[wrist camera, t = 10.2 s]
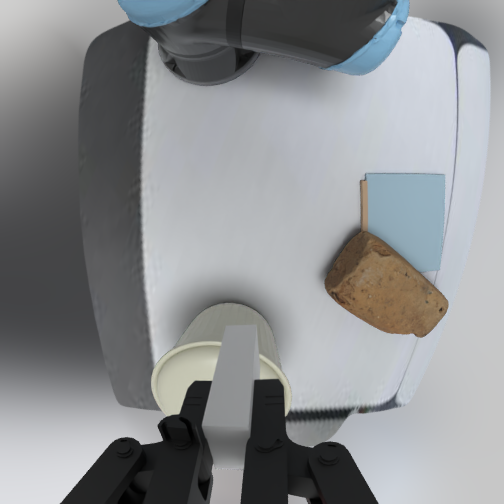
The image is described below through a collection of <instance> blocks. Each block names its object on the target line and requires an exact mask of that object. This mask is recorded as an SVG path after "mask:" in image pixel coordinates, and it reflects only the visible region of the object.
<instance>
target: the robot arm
mask: <svg viewBox="0 0 504 504" xmlns="http://www.w3.org/2000/svg"><path fill="white" fill-rule="evenodd" d="M118 3H119V5H120V6H121V8H122V9H123V10H124V11H125V12H126V14H127V15H128V18H129V19H130V20H131V21H132V22H133V23H136V25H139V26H140V27H141V28H142V29H143V30H145V31H146V32H147V33H148V34H149V35H150V36H151V37H152V38H153V39H155V40H156V41H157V42H158V49H159V54H160V57H161V59H162V61H163V63H164V64H165V66H166V67H167V68H168V69H169V70H170V71H171V72H172V73H173V74H174V75H176V76H177V77H178V78H180V79H182V80H184V81H186V82H188V83H191V84H195V85H203V86H210V85H218V84H222V83H226V82H228V81H231V80H233V79H235V78H237V77H239V76H240V75H242V74H243V73H244V72H246V71H247V70H248V69H249V68H250V67H251V66H252V64H253V63H254V62H255V60H256V59H257V57H258V55H259V53H260V52H262V53H266V54H271V55H276V56H280V57H284V58H288V59H292V60H296V61H300V62H304V63H308V64H311V65H315V66H318V67H319V68H321V69H324V70H335V71H339V72H342V73H346V74H349V75H364V74H367V73H369V72H371V71H373V70H375V69H376V68H377V67H378V66H379V65H381V64H382V63H383V61H384V60H385V59H386V58H387V57H388V56H389V54H390V53H391V52H392V50H393V49H394V47H395V45H396V44H397V42H398V40H399V38H400V36H401V34H402V32H401V28H402V27H403V25H404V24H405V23H406V21H407V17H408V13H409V0H118ZM158 429H159V431H160V433H161V436H162V438H163V441H161V442H158V443H152V444H145V445H141V444H140V443H139V441H137V440H135V439H134V438H128V437H125V438H119V439H117V440H115V441H114V442H112V443H111V444H110V445H109V446H108V448H107V449H106V450H105V451H104V452H103V454H102V455H101V456H100V457H99V458H98V459H97V461H96V462H95V463H94V464H93V466H92V467H91V468H90V469H89V470H88V471H87V473H86V474H85V475H84V476H83V477H82V479H81V480H80V481H79V482H78V484H76V486H75V487H74V488H73V489H72V490H71V492H70V493H69V494H68V495H67V496H66V497H65V499H64V500H63V501H62V502H61V503H60V504H209V503H210V497H211V491H212V485H213V475H212V472H211V471H212V465H213V464H214V467H215V469H230V470H231V469H232V470H244V473H243V483H242V494H241V504H288V494H290V495H294V496H299V497H305V498H306V499H307V502H308V504H378V502H377V500H376V498H375V497H374V495H373V493H372V492H371V490H370V488H369V486H368V484H367V483H366V481H365V479H364V477H363V476H362V474H361V472H360V470H359V469H358V467H357V465H356V463H355V462H354V460H353V458H352V456H351V454H350V453H349V451H348V450H347V449H346V447H345V446H344V445H341V444H339V443H337V442H322V443H320V444H318V445H316V446H314V447H313V448H311V447H305V446H301V445H298V444H296V443H294V442H292V441H291V440H290V439H289V438H288V436H287V434H286V422H285V399H284V386H283V384H282V383H281V382H280V380H279V379H260V360H259V349H258V337H257V326H256V325H231V326H226V327H225V331H224V335H223V339H222V343H221V347H220V351H219V355H218V360H217V364H216V368H215V372H214V376H213V380H212V381H199V380H195V381H194V382H193V383H192V384H191V385H190V386H189V387H188V389H187V392H186V395H185V398H184V401H183V405H182V407H181V410H180V413H179V414H174V415H170V416H167V417H165V418H164V419H163V420H161V421H160V423H159V424H158Z"/></svg>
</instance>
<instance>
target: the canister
mask: <svg viewBox="0 0 504 504" xmlns="http://www.w3.org/2000/svg"><path fill="white" fill-rule="evenodd" d="M231 325H256V326H257V337H258V349H259V360H260V379H279V380H280V382H281V383H282V384H283V386H284V399H285V417H286V415H287V413H288V411H289V409H290V406H291V401H292V393H291V387H290V384H289V381H288V379H287V377H286V376H285V374H284V373H283V371H282V368H281V363H280V359H279V354H278V350H277V346H276V343H275V339H274V335H273V333H272V331H271V328H270V326H269V325H268V323H267V321H266V320H265V319H264V318H263V316H262V315H260V314H259V313H258V312H257V311H255V310H253V309H252V308H249V307H247V306H246V305H241V304H236V303H223V304H221V303H220V304H218V305H213V306H211V307H209V308H207V309H205V311H202V312H201V313H200V314H199V315H198V316H197V317H196V318H195V319H194V320H193V322H192V323H191V324H190V325H189V327H188V328H187V329H186V331H185V332H184V333H183V335H182V336H181V338H180V339H179V341H178V342H177V343H176V345H175V346H174V348H173V349H172V350H170V351H169V352H167V353H166V354H165V355H164V356H163V357H162V358H161V359H160V360H159V361H158V362H157V364H156V366H155V368H154V370H153V373H152V378H151V387H152V392H153V395H154V398H155V400H156V402H157V404H158V406H159V407H160V408H161V410H162V411H163V412H164V413H165V415H167V416H170V415H174V414H179V413H180V410H181V407H182V405H183V401H184V398H185V395H186V392H187V389H188V387H189V386H190V385H191V384H192V383H193V382H194V381H195V380H199V381H212V380H213V376H214V372H215V368H216V364H217V360H218V355H219V351H220V347H221V343H222V339H223V335H224V331H225V327H226V326H231Z"/></svg>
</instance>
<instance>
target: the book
mask: <svg viewBox="0 0 504 504" xmlns="http://www.w3.org/2000/svg"><path fill="white" fill-rule="evenodd" d="M360 184H361V232H362V231H367V232H369V233H371V234H373V235H375V236H377V237H379V238H380V239H382V240H383V241H385V242H386V243H387V244H388V245H390V246H391V247H392V248H393V249H394V250H395V251H397V252H398V253H399V254H400V255H401V256H403V257H404V258H405V259H406V260H407V261H408V262H409V263H410V264H411V265H412V266H413V267H414V268H415V269H416V270H418V271H419V272H425V271H435V270H440V263H441V254H442V243H443V229H444V211H445V175H440V174H365V180H360Z"/></svg>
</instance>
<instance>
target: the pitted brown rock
mask: <svg viewBox="0 0 504 504" xmlns="http://www.w3.org/2000/svg"><path fill="white" fill-rule="evenodd" d="M324 284H325V289H326V291H327V293H328V294H329V295H330V296H331V297H332V298H333V299H334V300H335V301H336V302H337V303H338V304H339V305H341V306H342V307H343V308H345V309H346V310H348V311H349V312H350V313H352V314H354V315H355V316H357V317H358V318H360V319H362V320H363V321H365V322H367V323H368V324H370V325H372V326H374V327H375V328H377V329H379V330H381V331H384V332H387V333H391V334H394V333H396V334H410V333H413V334H415V336H417V337H421V338H422V337H424V336H426V335H427V334H428V333H429V332H431V331H432V330H433V328H434V327H435V326H436V325H437V324H438V322H439V321H440V320H441V319H442V318H443V316H444V315H445V314H446V312H447V309H448V305H449V304H448V301H447V299H446V298H445V297H444V295H443V294H442V293H441V292H440V291H439V290H438V289H437V288H436V287H435V286H434V285H433V284H431V283H430V282H429V281H428V280H427V279H426V278H425V277H424V276H423V275H422V274H421V273H420V272H419V271H418V270H416V269H415V268H414V267H413V266H412V265H411V264H410V263H409V262H408V261H407V260H406V259H405V258H404V257H403V256H401V255H400V254H399V253H398V252H397V251H395V250H394V249H393V248H392V247H391V246H390V245H388V244H387V243H386V242H385V241H383V240H382V239H380V238H379V237H377V236H375V235H373V234H371V233H369V232H367V231H362V232H360V233H359V234H357V235H356V236H354V237H353V238H352V239H351V240H350V241H349V242H348V244H347V245H346V246H345V248H344V249H343V251H342V252H341V254H340V255H339V257H338V258H337V259H336V261H335V263H334V265H333V268H332V270H331V271H330V272H329V273H328V275H327V277H326V279H325V283H324Z"/></svg>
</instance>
